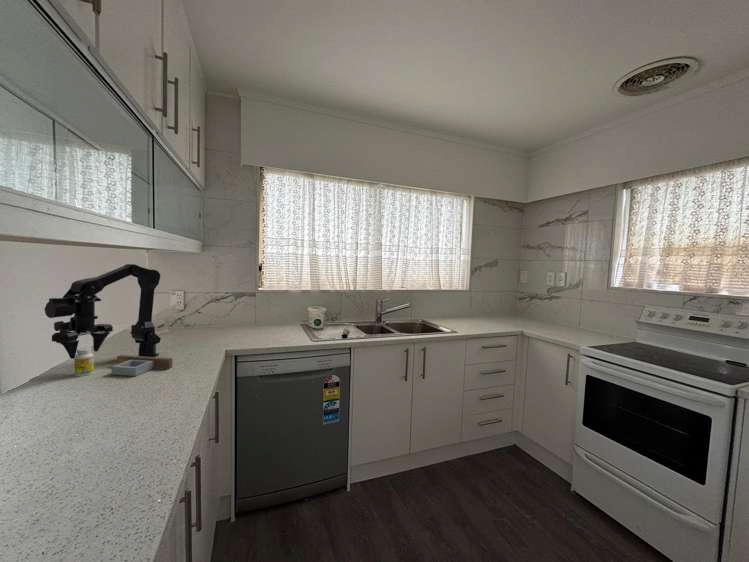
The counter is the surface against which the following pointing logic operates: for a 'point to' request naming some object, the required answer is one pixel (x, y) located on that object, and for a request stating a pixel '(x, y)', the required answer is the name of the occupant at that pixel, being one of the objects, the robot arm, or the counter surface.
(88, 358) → the supplement bottle
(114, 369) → the socket block
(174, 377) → the counter surface
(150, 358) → the rail
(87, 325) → the robot arm
